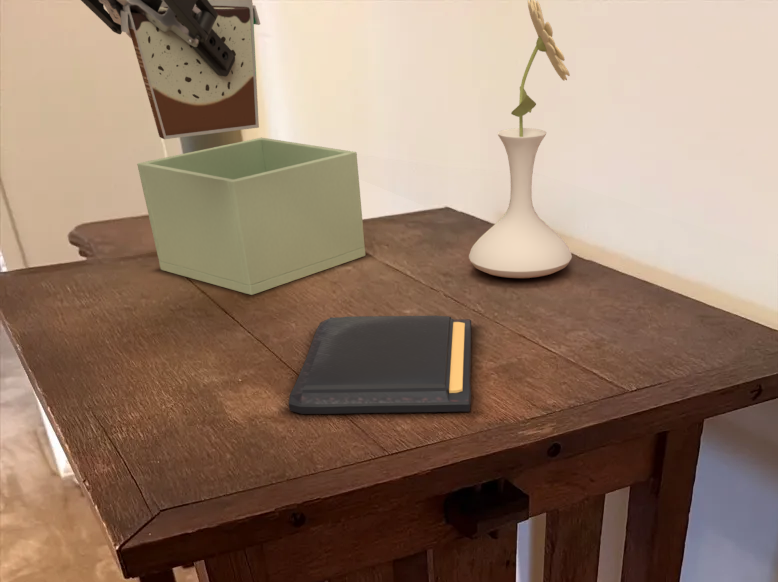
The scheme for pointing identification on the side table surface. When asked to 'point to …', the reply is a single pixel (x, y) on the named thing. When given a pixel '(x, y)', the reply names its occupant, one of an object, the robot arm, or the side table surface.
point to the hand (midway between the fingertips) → (202, 64)
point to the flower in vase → (524, 190)
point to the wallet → (386, 366)
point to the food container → (198, 73)
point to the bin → (254, 212)
